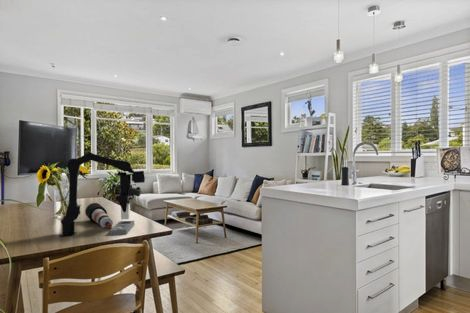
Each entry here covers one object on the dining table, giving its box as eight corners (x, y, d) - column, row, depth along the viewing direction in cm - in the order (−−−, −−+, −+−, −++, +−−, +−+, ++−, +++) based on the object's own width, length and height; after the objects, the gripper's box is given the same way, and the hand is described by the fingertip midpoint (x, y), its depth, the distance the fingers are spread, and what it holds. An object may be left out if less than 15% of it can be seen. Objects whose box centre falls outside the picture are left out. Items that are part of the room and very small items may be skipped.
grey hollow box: (126, 236, 154) (126, 228, 154) (110, 237, 153) (110, 229, 153) (134, 226, 174) (134, 219, 173) (120, 227, 173) (119, 220, 172)
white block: (128, 219, 167) (128, 204, 167) (121, 219, 167) (120, 204, 167) (130, 217, 171) (130, 203, 171) (122, 217, 171) (122, 203, 171)
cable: (105, 239, 165) (96, 224, 161) (90, 221, 191) (82, 208, 187) (122, 228, 170) (114, 214, 166) (105, 212, 196) (97, 199, 192)
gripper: (136, 185, 160) (137, 214, 161) (143, 181, 179) (143, 207, 179) (115, 185, 159) (115, 214, 159) (123, 181, 178) (123, 208, 178)
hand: (125, 211), depth 169 cm, fingers closed on white block, 4 cm apart
